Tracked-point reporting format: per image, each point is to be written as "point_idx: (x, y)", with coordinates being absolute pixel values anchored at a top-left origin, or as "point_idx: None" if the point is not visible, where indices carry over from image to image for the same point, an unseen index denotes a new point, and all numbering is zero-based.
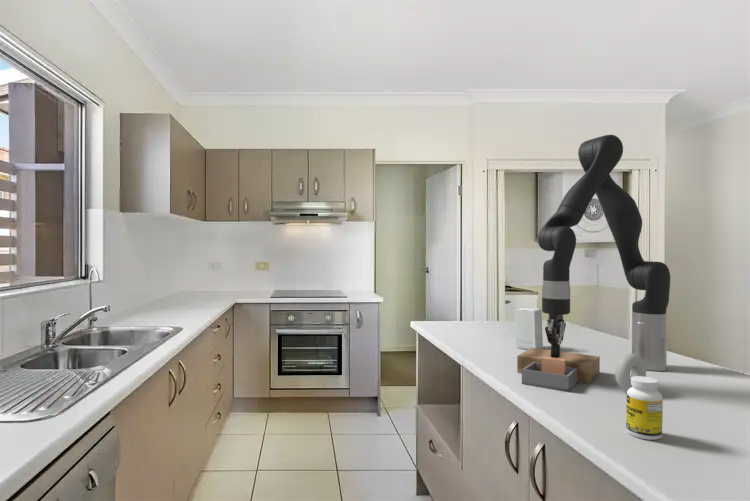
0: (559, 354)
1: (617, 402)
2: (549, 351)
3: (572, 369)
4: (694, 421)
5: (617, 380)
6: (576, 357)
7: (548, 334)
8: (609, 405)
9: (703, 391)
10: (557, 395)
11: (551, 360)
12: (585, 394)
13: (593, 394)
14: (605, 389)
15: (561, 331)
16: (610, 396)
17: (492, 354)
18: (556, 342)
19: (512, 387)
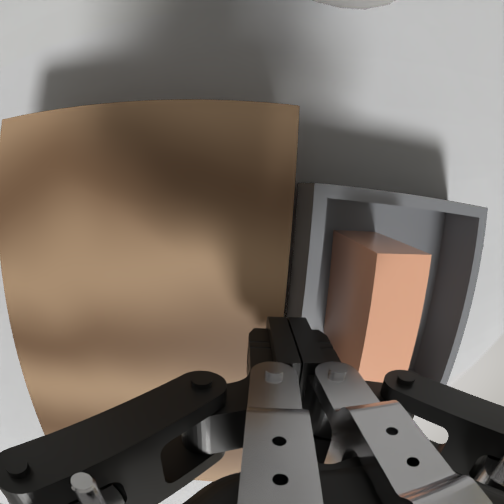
0: (291, 323)
1: (458, 46)
2: (52, 386)
3: (325, 209)
4: None
5: (388, 3)
6: (87, 228)
7: (481, 457)
8: (493, 75)
9: None
10: (489, 230)
11: (414, 329)
12: (442, 138)
13: (427, 109)
14: (330, 62)
15: (370, 444)
16: (413, 54)
17: None
18: (422, 379)
19: (456, 373)
